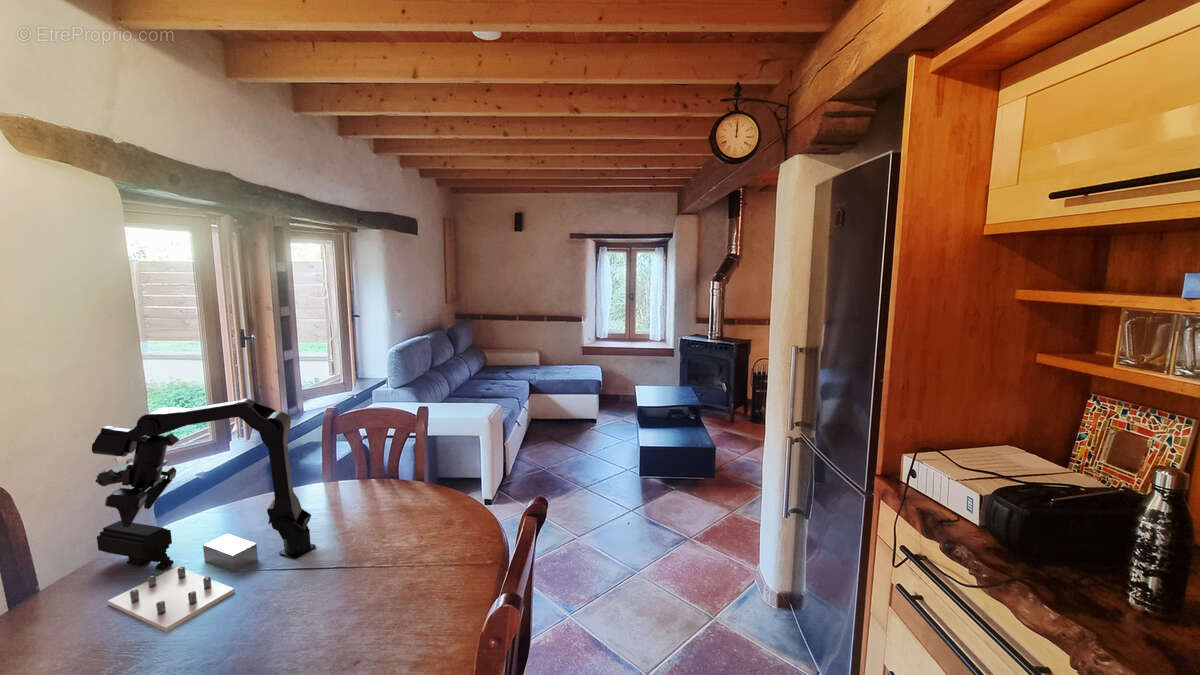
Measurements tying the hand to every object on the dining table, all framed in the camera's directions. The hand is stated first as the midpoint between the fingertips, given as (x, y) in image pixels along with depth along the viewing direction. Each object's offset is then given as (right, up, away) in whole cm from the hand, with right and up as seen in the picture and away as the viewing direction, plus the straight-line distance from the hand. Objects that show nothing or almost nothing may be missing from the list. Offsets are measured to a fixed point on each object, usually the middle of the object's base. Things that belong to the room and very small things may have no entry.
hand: (136, 517), depth 122 cm
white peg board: (+15, -17, -6) cm, 23 cm away
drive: (+17, -15, +9) cm, 25 cm away
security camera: (-5, -15, +6) cm, 17 cm away
